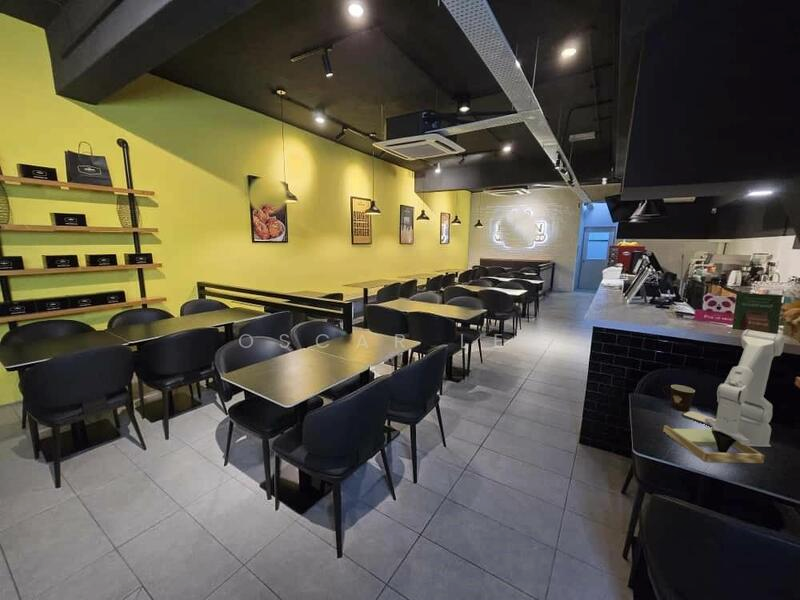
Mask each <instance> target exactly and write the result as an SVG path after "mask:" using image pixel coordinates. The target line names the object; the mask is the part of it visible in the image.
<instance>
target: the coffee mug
mask: <svg viewBox="0 0 800 600" xmlns="http://www.w3.org/2000/svg"><path fill="white" fill-rule="evenodd" d="M665 388H668V389H669V390H670V395H668V393H666V391H665ZM661 390H662V392H663V394H664V395H665V396H667V398H668V399H669V400H670V407H671V408H672V409H673V410H675V411H678V412H681V413H682V412H683V413H686V412H688V411H690V408H691V406H692V402H693V400H694V396H695V392H696V390H695V389H693V388H692V387H689V386H686V385H680V384H671V385H670V386H669V385H664V386H662V387H661Z"/></svg>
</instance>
